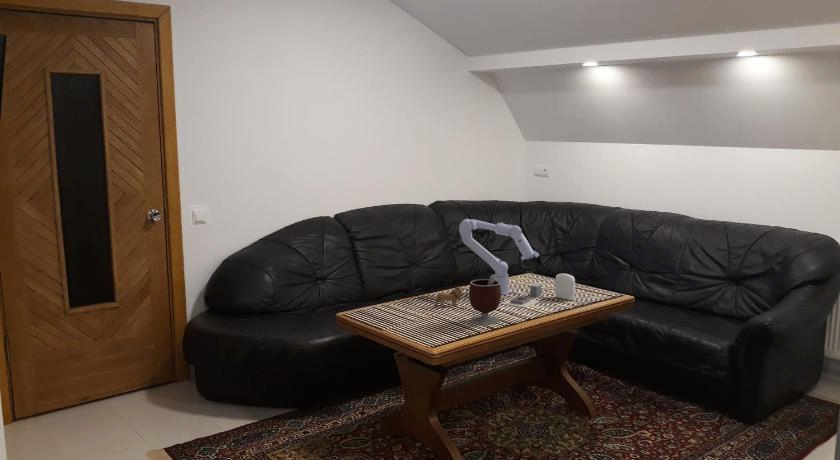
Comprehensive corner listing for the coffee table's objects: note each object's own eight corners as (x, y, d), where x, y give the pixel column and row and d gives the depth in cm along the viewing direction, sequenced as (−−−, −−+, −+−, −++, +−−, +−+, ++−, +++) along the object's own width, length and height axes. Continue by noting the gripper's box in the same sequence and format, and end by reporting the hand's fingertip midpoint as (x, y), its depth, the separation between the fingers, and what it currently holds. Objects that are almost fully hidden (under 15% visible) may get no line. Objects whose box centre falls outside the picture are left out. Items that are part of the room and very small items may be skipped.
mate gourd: (488, 327, 272) (488, 280, 270) (462, 321, 282) (462, 276, 279) (509, 319, 284) (509, 274, 281) (484, 313, 293) (484, 270, 290)
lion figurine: (459, 303, 312) (459, 285, 311) (464, 306, 307) (464, 287, 306) (431, 306, 307) (431, 288, 306) (435, 309, 302) (435, 290, 301)
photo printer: (553, 297, 322) (554, 272, 320) (559, 295, 324) (559, 271, 322) (570, 301, 314) (571, 276, 312) (576, 299, 316) (576, 274, 315)
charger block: (530, 296, 323) (530, 285, 322) (534, 294, 327) (534, 283, 326) (536, 297, 321) (536, 286, 320) (541, 295, 325) (541, 284, 324)
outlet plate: (501, 303, 310) (501, 300, 310) (515, 297, 321) (515, 294, 321) (525, 307, 302) (525, 303, 302) (539, 301, 313) (539, 297, 313)
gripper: (537, 241, 322) (551, 264, 322) (523, 245, 335) (536, 267, 336) (527, 248, 319) (540, 271, 320) (513, 252, 333) (526, 274, 333)
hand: (538, 270), depth 328 cm, fingers open, 7 cm apart
